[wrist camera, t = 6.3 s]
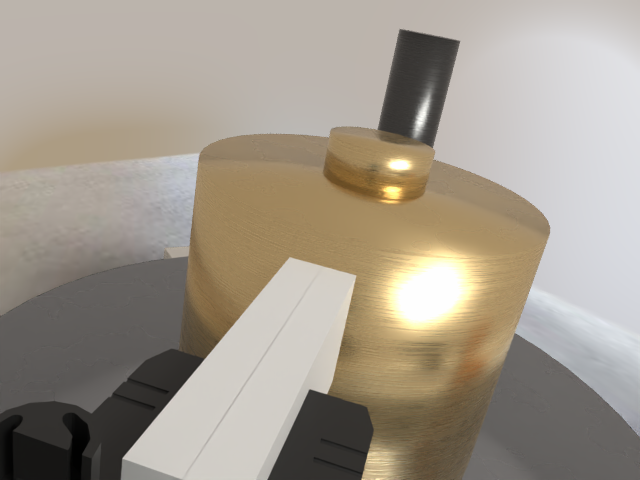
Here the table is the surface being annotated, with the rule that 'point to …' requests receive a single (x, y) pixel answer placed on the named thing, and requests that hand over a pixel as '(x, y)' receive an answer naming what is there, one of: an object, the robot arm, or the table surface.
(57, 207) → the table surface
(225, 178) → the cover
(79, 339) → the turntable
